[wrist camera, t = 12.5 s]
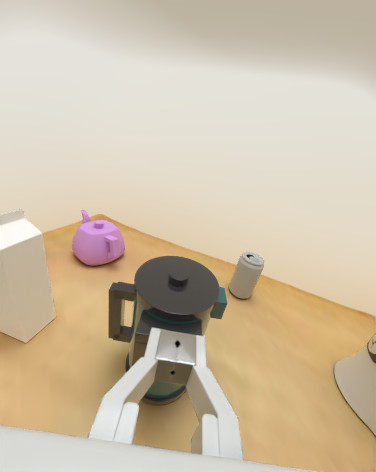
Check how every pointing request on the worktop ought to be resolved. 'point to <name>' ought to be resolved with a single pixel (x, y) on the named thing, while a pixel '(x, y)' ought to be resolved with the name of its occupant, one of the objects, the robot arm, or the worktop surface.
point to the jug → (164, 310)
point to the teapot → (97, 241)
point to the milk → (23, 278)
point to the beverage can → (246, 275)
